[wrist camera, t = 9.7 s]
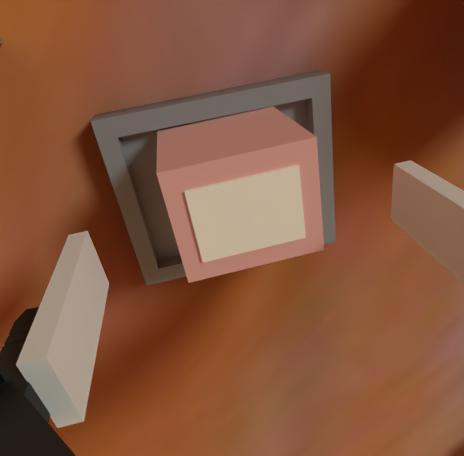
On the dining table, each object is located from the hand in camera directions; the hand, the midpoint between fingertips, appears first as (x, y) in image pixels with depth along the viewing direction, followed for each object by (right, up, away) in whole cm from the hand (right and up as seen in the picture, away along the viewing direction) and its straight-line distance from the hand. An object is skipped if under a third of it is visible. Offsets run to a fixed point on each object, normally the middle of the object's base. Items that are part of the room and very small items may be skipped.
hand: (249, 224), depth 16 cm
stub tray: (-1, +3, +6) cm, 7 cm away
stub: (-1, +4, +5) cm, 6 cm away
